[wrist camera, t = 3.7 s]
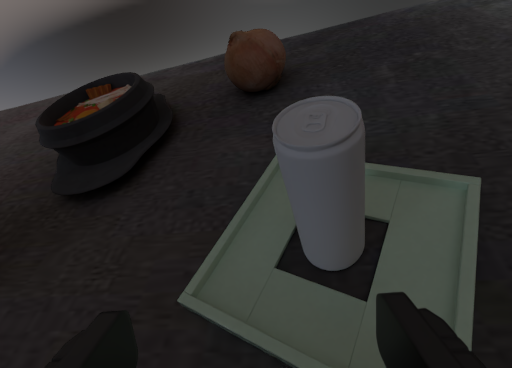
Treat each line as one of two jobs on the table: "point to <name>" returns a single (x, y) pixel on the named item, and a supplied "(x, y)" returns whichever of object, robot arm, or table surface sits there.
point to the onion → (254, 59)
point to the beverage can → (324, 177)
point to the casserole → (102, 130)
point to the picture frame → (328, 300)
